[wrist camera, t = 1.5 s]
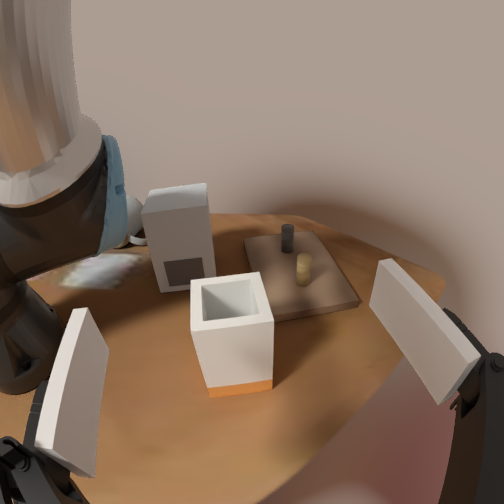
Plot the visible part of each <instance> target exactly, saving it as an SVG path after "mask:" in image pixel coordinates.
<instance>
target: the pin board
mask: <svg viewBox="0 0 504 504" xmlns="http://www.w3.org/2000/svg"><path fill="white" fill-rule="evenodd" d="M244 247H245V250H246V254H247V258H248V262H249V266H250V269H251V273H253V272H260V276H261V279H262V282H263V286H264V289H265V292H266V296H267V299H268V302H269V305H270V309H271V312H272V315H273V319H274V322H279V321H285V320H291V319H297V318H303V317H309V316H314V315H320V314H325V313H330V312H335V311H340V310H345V309H350V308H355V307H358V303H359V299H358V297H357V296H356V294H355V292H354V291H353V289H352V288H351V286H350V285H349V283H348V282H347V280H346V278H345V277H344V275H343V274H342V272H341V271H340V269H339V268H338V266H337V265H336V263H335V262H334V260H333V259H332V257H331V256H330V254H329V253H328V251H327V250H326V248H325V247H324V245H323V244H322V242H321V241H320V239H319V238H318V236H317V235H316V234H315V232H314V231H304V232H295V233H294V226H293V225H291V224H284V225H282V234H276V235H267V236H258V237H249V238H244Z"/></svg>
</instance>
